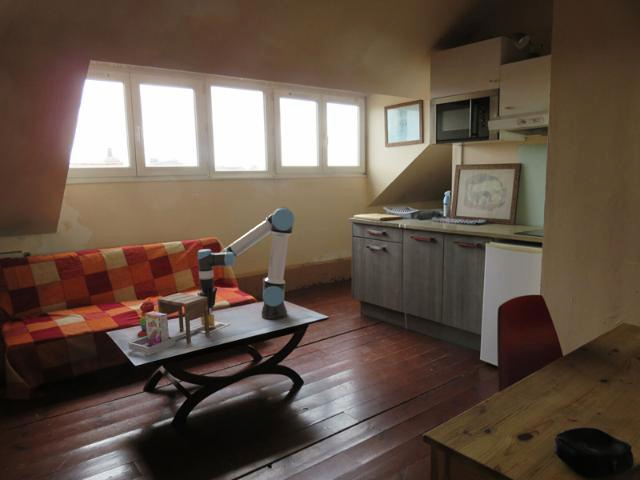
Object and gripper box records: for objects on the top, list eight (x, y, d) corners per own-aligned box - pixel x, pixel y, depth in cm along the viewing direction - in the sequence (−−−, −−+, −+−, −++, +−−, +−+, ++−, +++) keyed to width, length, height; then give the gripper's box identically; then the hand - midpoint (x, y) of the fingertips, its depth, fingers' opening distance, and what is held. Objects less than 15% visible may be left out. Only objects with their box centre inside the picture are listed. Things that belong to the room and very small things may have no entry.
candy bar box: (147, 345, 223) (144, 313, 221) (155, 342, 228) (152, 310, 225) (161, 349, 217) (159, 316, 215) (170, 346, 222) (167, 313, 219)
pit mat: (229, 324, 252) (229, 323, 252) (207, 333, 238) (207, 333, 238) (209, 320, 261) (209, 320, 260) (186, 329, 246) (186, 328, 246)
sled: (219, 326, 246) (218, 315, 245) (149, 354, 208) (148, 342, 207) (199, 322, 254) (199, 312, 253) (128, 349, 216) (127, 337, 215)
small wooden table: (209, 335, 236) (207, 297, 233) (188, 343, 224) (185, 303, 221) (181, 329, 247) (179, 292, 244) (160, 337, 235) (157, 298, 232)
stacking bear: (144, 329, 248) (141, 298, 246) (162, 329, 248) (160, 297, 246) (136, 336, 238) (133, 303, 235) (155, 336, 237) (152, 303, 235)
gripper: (210, 274, 254) (213, 315, 257) (192, 279, 243) (196, 321, 247) (219, 275, 250) (222, 317, 253) (202, 281, 239) (205, 323, 243)
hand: (209, 319), depth 250 cm, fingers closed
